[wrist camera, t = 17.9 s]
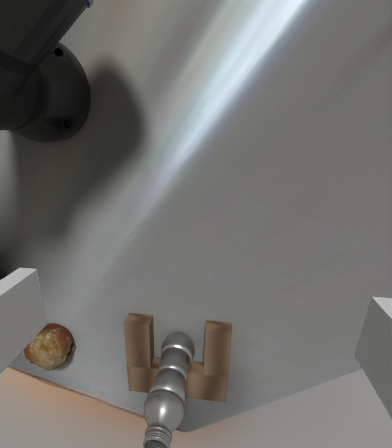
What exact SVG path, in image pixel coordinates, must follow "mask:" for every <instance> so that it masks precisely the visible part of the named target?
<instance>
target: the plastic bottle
mask: <svg viewBox="0 0 392 448" xmlns="http://www.w3.org/2000/svg"><path fill="white" fill-rule="evenodd" d="M193 356H194V344H193V341H192V340H191V338H190V337H189V336H188V335H186V334H184V333H181V332H175V333H172V334H170V335H168V336H167V337H166V339H165V340H164V342H163V344H162V349H161V359H160V364H159V369H158V372H157V375H156V377H155V380H154V383H153V385H152V387H151V389H150V392H149V394H148V396H147V398H146V400H145V403H144V416H145V419H146V422H147V425H148V428H147V429H146V432H145V439H144V444H143V446H144V448H169V447H170V443H171V440H172V434H171V433H172V432H173V431H174V430H175V429H176V428H177V427H178V426H179V424H180V423H181V421H182V419H183V417H184V412H185V389H186V380H187V374H188V371H189V367H190V364H191V362H192V359H193Z"/></svg>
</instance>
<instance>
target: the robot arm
mask: <svg viewBox="0 0 392 448" xmlns="http://www.w3.org/2000/svg"><path fill="white" fill-rule="evenodd" d="M92 4H93V0H0V130H9V131H12V132H14V133H16V134H18V135H21V136H23V137H25V138H28V139H30V140H34V141H39V142H58V141H63V140H66V139H68V138H70V137H72V136H73V135H74V134H76V133H77V132H78V131H79V130H80V128H81V127H82V126H83V124H84V122H85V120H86V118H87V116H88V112H89V107H90V89H89V84H88V80H87V77H86V74H85V72H84V70H83V68H82V66H81V64H80V63H79V61H78V60H77V58H76V57H75V56H74V54H73V53H72V52H71V51H70V50H69V49H68V48H66V47H65V46H64V45H63V44H61V43H60V42H59V41H60V40H61V38H62V37H63V36H64V35H65V33H66V32H67V31H68V30H69V29H70V27H71V26H72V25H73V24H74V22H75V21H76V20H77V19H78V18H79V16H80V15H81V14H82V13H83V11H84V10H85V9H86V8H87V7H88V8H90V7H91V6H92ZM47 324H48V323H47V318H46V313H45V308H44V303H43V297H42V292H41V287H40V282H39V277H38V271H37V269H30V268H18V269H17V270H15V271H14V272H12V273H11V274H9V275H8V276H6V277H5V278H3V279H2V280H0V374H1V373H2V372H3V371H4V370H5V369H6V368H7V367H8V366H9V365H10V364H11V362H12V361H13V360H14V359H15V358H16V357H17V356H18V355H19V354H20V353H21V352H22V351H23V350H24V348H25V347H26V346H27V345H28V344H29V343H30V342H31V341H32V340H33V339H34V338H35V337H36V336H37V334H38V333H39V332H40V331H41V330H42V329H43V328H44V327H45V326H46V325H47ZM355 357H356V358H357V360H358V362H359V363H360V365H361V367H362V369H363V370H364V372H365V374H366V375H367V377H368V379H369V381H370V382H371V384H372V386H373V387H374V389H375V391H376V393H377V394H378V396H379V398H380V399H381V401H382V403H383V404H384V406H385V408H386V410H387V411H388V413H389V415H390V416H391V418H392V298H381V297H372V298H371V301H370V304H369V308H368V311H367V314H366V318H365V321H364V324H363V328H362V331H361V335H360V338H359V341H358V345H357V348H356V351H355Z"/></svg>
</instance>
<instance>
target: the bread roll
mask: <svg viewBox="0 0 392 448" xmlns="http://www.w3.org/2000/svg"><path fill="white" fill-rule="evenodd" d="M75 348H76V346H75V345H74V341H73V338H72V336H71V333H70V332H69V330H68V329H66V328H65V327H63V326H61V325H59V324H55V323H50V324H47V325H46V326H45V327H44V328H43V329H42V330H41V331H40V332H39V333H38V334H37V336H36V337H35V338H34V339H33V340H32V341H31V342H30V343H29V344H28V345H27V346H26V347H25V348H24V353H25V357H26V358H27V359H28V360H29V361H30V362H31V363H34V364H36V365H38V366H39V367H41V368H42V369H43V370H54V369H56V368H58V367H60V366H61V365H63V364H64V363H65V362H66V361H67V360H68V358H69V357H70V356H71V354H72V352H73V351H74V350H75Z"/></svg>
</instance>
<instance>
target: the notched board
mask: <svg viewBox="0 0 392 448" xmlns="http://www.w3.org/2000/svg"><path fill="white" fill-rule="evenodd" d="M124 330H125V343H126V357H127V370H128V384H129V390H130V391H138V392H146V393H149V392H150V389H151V387H152V385H153V383H154V380H155V377H156V375H157V372H158V369H159V364H160V359H161V358H158V357H154V335H153V315H143V314H132V313H129V315H128V317H127V318H126V320H125V322H124ZM231 337H232V324H231V323H226V322H216V321H206V331H205V349H204V362H195V361H192V362H191V364H190V367H189V371H188V374H187V380H186V389H185V397H187V398H195V399H204V400H212V401H220V402H225V401H226V390H227V380H228V369H229V359H230V348H231Z"/></svg>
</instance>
